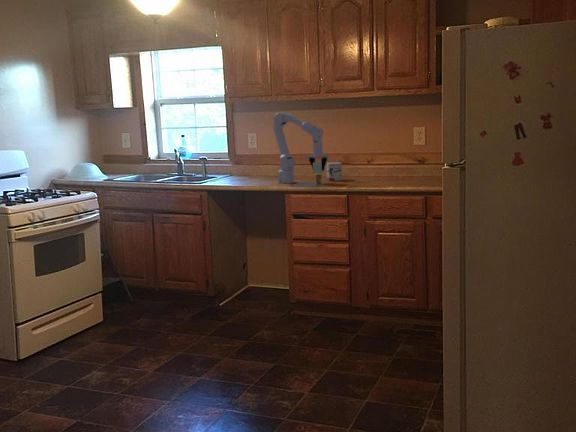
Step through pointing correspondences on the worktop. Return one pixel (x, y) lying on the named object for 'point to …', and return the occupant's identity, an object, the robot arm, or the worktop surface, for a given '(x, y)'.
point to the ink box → (334, 171)
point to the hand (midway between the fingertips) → (318, 170)
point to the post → (318, 179)
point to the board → (307, 184)
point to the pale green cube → (317, 168)
